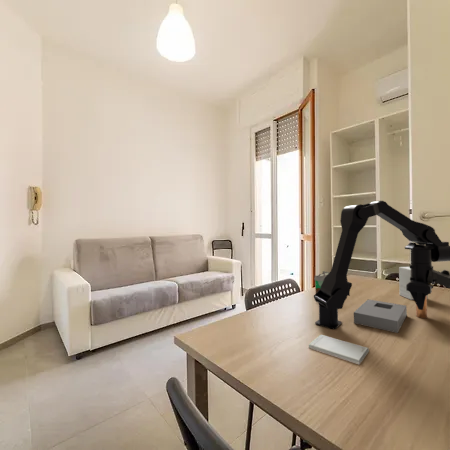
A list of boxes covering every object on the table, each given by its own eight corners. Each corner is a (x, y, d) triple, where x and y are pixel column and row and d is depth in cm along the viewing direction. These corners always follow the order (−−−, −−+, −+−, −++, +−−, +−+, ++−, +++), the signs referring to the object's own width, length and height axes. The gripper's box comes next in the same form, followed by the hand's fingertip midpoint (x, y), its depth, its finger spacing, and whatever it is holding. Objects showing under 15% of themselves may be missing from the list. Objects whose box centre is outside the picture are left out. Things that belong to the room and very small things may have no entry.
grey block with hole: (397, 332, 76) (397, 321, 76) (353, 322, 84) (353, 312, 84) (406, 315, 89) (406, 305, 89) (368, 308, 98) (368, 299, 97)
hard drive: (368, 347, 66) (321, 333, 74) (359, 360, 60) (308, 343, 68) (369, 353, 66) (321, 339, 74) (359, 367, 60) (308, 349, 68)
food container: (329, 301, 107) (329, 277, 107) (314, 298, 111) (314, 275, 111) (337, 294, 117) (336, 272, 117) (323, 292, 121) (323, 270, 121)
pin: (426, 318, 86) (426, 292, 86) (415, 316, 88) (414, 290, 88) (427, 316, 88) (426, 290, 88) (416, 314, 90) (416, 288, 90)
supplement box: (428, 299, 106) (428, 269, 106) (410, 300, 106) (410, 269, 106) (415, 294, 114) (415, 266, 114) (398, 295, 114) (398, 266, 114)
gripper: (451, 269, 76) (452, 321, 76) (452, 261, 90) (453, 305, 90) (405, 265, 83) (406, 313, 83) (413, 258, 97) (413, 299, 97)
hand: (421, 307), depth 88 cm, fingers open, 4 cm apart
